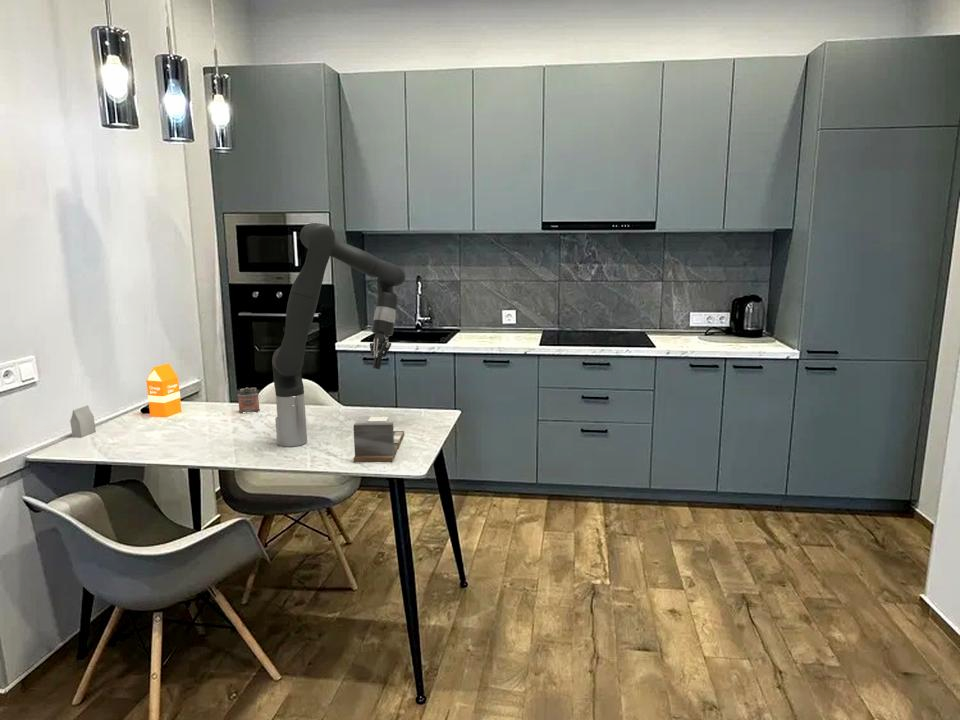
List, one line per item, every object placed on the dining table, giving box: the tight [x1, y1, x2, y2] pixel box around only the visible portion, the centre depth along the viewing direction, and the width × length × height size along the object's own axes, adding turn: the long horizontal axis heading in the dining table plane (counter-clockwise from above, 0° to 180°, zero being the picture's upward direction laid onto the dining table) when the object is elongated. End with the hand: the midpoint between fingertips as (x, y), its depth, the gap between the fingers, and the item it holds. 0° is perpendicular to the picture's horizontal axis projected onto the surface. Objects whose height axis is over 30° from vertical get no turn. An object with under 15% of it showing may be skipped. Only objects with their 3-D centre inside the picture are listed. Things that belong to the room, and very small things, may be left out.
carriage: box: [367, 416, 398, 444], centre depth 213 cm, size 7×9×9 cm
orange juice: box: [146, 363, 182, 418], centre depth 260 cm, size 8×9×20 cm
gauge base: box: [352, 421, 405, 463], centre depth 216 cm, size 28×12×12 cm, turn 179°
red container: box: [237, 387, 261, 414], centre depth 262 cm, size 8×3×10 cm, turn 101°
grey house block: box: [69, 405, 96, 439], centre depth 235 cm, size 4×7×10 cm, turn 169°
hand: (376, 368), depth 231 cm, fingers closed
